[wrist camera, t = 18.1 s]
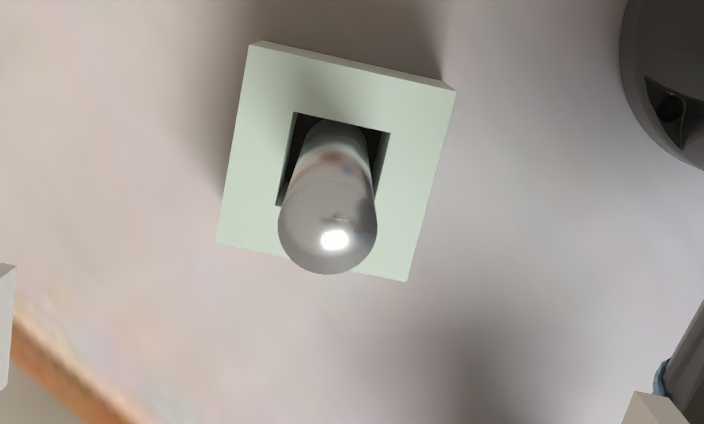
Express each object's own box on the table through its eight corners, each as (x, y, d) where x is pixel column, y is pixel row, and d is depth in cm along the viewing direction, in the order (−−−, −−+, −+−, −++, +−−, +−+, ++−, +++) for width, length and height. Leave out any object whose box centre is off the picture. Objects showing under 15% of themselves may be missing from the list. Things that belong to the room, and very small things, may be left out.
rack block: (442, 81, 36) (457, 91, 31) (399, 248, 39) (406, 282, 34) (262, 39, 35) (248, 44, 30) (231, 213, 38) (214, 242, 33)
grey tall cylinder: (373, 125, 37) (387, 191, 23) (359, 186, 38) (365, 283, 24) (310, 111, 36) (287, 169, 23) (297, 173, 37) (269, 263, 24)
